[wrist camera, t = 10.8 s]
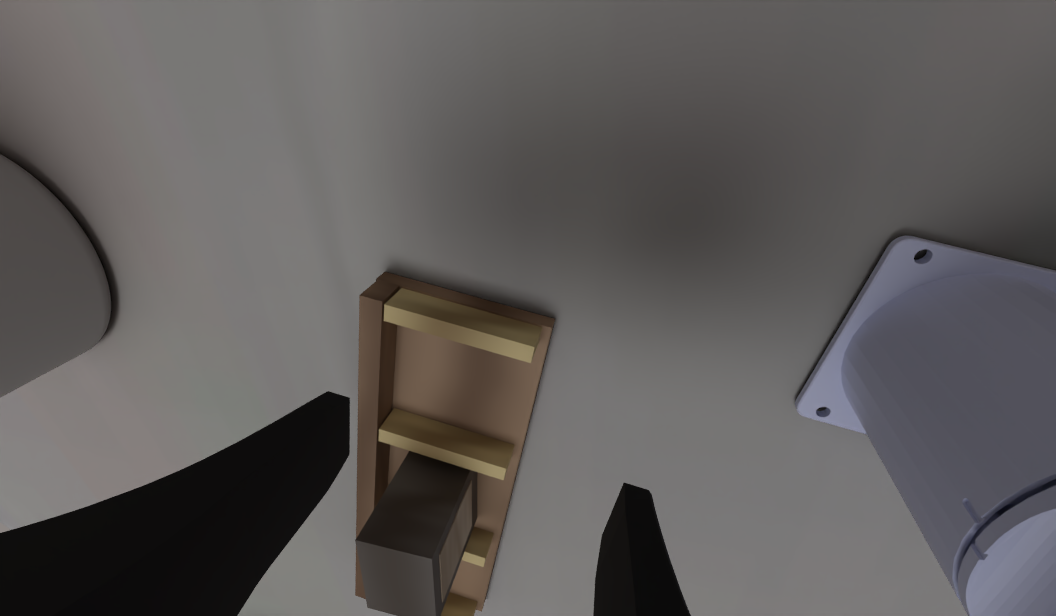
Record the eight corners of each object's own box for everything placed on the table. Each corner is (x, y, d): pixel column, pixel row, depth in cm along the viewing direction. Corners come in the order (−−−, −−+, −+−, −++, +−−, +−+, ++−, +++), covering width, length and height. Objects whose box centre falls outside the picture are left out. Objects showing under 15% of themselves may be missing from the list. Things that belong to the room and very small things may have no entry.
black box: (478, 454, 25) (432, 559, 20) (478, 517, 27) (437, 626, 22) (414, 440, 26) (354, 539, 21) (419, 504, 28) (366, 607, 23)
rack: (555, 319, 21) (544, 347, 19) (485, 599, 32) (473, 637, 30) (384, 271, 22) (357, 294, 20) (372, 560, 33) (354, 594, 31)
